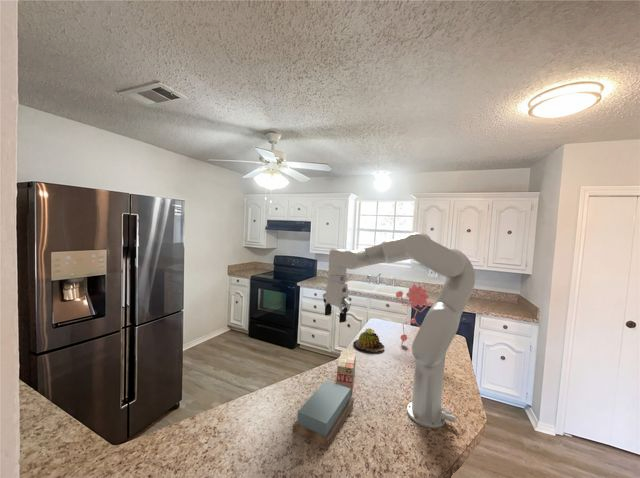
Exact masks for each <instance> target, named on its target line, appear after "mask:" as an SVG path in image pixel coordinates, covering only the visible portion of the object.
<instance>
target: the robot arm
mask: <svg viewBox="0 0 640 478" xmlns="http://www.w3.org/2000/svg"><path fill="white" fill-rule="evenodd" d="M328 256H329V257H328V275H327V276H328V277H327V282H326V288H325V289H326V290H325V293H323V294H322V298H323V303H324V316H326V317H327V316H331V315H332V311H333V310H332V308H333V307H332V306H334V307H336V308H339V311H340V312H339V319H338V320H339V321H338V322H339V323H340V324H342V323H346V322H347V313H348V312H349V310H350V309H351V306H352V303H351V302H350V300H349V287H348V282H347V270H356V269H360V268H363V267H368V266H373V265H377V264H379V265H380V264H385V263H387V264H391V263H392V264H393V263H397V262H403V261H407V260H413V261H416V262H417V263H419V264H420V265H422V266H424V267H426V268H427V269H429V270H431V271H433V272H435V273H436V274H438V275H440V276H443V277H446V279H445V281H444V284H443V286H442V288H441V290H440V293H439V294H438V297H437V298H436V299H435V302H434V303H433V306H430V308H429V310H428V311H427V313H426V314H425V316H424V318H423V321H422V323H421V325H420V327H419V329H418V331H417V333H416V335H415V336H414V338H413V341H412V344H411V354H412V356H413V359H414V372H413V383H412V384H413V386H412V398H411V399H412V400H411V401H410V402H409V403H408V404H407V406H406V412H407V415H408V416H409V418H410V420H412V421H413V422H415V423H416V424H417V425H420V426H423V427H425V428H430V429H439V428H442V427H443V426H444V425H445V423H446V421H449V422H452V423H456V415H453V414H452V413H453V412H452V411H451V410H448V409H445V408H444V407H443V402H442V401H443V390H444V389H443V388H444V377H445V365H446V358H447V357H446V355H447V351H448V349H449V347H450V346H451V343H452V341H453V340H454V339H455V336H456V334H457V332H458V329H459V325H460V321H461V316H462V314H463V312H464V310H465V308H466V307H467V304H468V301H469V299H470V298H471V295H472V293H473V290H474V287H475V283H476V274H475V268H474V266H473V264H472V262H471V261H470V259H469V258H468V257H467V256H466V254H464V253H463V252H462V250H459V249H455V248H449V247H446V246H444V245H443V244H441V243H438V242H436V241H435V240H433V239H431V237H430V236H429V235H428V234H427V233H424V232H412V233H409V234H408V235H405V236H401V237H397V238H393V239H392V238H391V239H389V240H385V241H383V242H381V243H380V244H377V245H374V246H369V247H365V248H360V249H353V250H346V249H343V248H331V249H330V250H329V255H328Z"/></svg>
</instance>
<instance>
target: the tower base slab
mask: <svg viewBox="0 0 640 478" xmlns="http://www.w3.org/2000/svg"><path fill="white" fill-rule="evenodd" d="M354 402H355V401H354V398H352V397H350V400H349V402H348V403H347V405H346V406H345V408H344V410H343V411H342V413H341V414H340V416H339V417H338V419H337V420H336V422H335V423H334V425H333V427H332V428H331V430H330V431H329V433H328V434H327V436H326V437H325V436H323V435H321V434H318V433H316V432H314V431H312V430H310V429H307V428H305V427H303V426H301V425H298V424H297V420H296V421H295V422H294V423H293V425H292V433H295V434H297V435H299V436H301V437H303V438H306V439H308V440H310V441H312V442H315V443H316V444H319V445H321V446H323V447H325V448H329V446H330V444H331V443H332V442H333V440H334V438H335V436H336V434H337V433H338V432H339V430H340V428H341V427H342V425H343V424H344V422H345V421H346V419H347V417H348V416H349V414H350V413H351V411H352V409H353V408H354Z"/></svg>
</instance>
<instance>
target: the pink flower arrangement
mask: <svg viewBox="0 0 640 478" xmlns="http://www.w3.org/2000/svg"><path fill="white" fill-rule="evenodd" d="M408 291H409V292H407V293H406V296H407V298H408V302H409V303H412V304H411V305H410V304H409V305H408V304H404V301H403V295H404V292H403V291H402V290H399V291H397V292H396V293H395V297H396V298H397V299H400V298H401V305H402V306H405V307H411V308H412V309H414V310H415V313H414V315H413V316H414V317H413V318H411V319H410V321H407V322H403V323H402V329H403V330H402V331H403V332H405V327H404V325H405V324H408V323H412V324H416V325H417V326H418V328H420V327H421V325H420V324H418V323H417V320H416V315H417V314H418V312H419V313H422V312H423V311H424V310H426V308H427V307H428V306H429V305H430V307H432V306H433V305H434V303H432V302H431V301H429V302H428V301H427V300H428V299H429V295H428V294H427V289H426V288H423V286H422V285H419V286H416V284H413V285H412V287H409V289H408ZM424 305H426V306H424ZM416 307H420V308H422V309H421V310H420V309H418V308H416ZM408 339H410V340H412V338H410V337H408V335H407V334H405V333H403V334H402V335H400V340H401V344H400V345H401V346H403V343H404V342H406V341H407V340H408Z"/></svg>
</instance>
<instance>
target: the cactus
mask: <svg viewBox="0 0 640 478" xmlns="http://www.w3.org/2000/svg"><path fill="white" fill-rule="evenodd" d="M353 346H354V347H355V348H357V349H358V350H359V349H360V350H362V351H366V352H371V353H377V352H380V351H384V350H385V345H384V344H383V343H382V342H381V341H380V337H379V335H377V333H376V332H375V331H374V330H373V329H372V328H366V329H364V331H363V332H362V333H360V334H359V336H358V339H356V340H355V341H353Z"/></svg>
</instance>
